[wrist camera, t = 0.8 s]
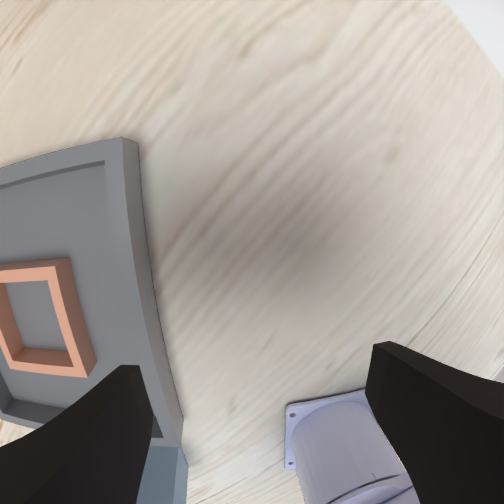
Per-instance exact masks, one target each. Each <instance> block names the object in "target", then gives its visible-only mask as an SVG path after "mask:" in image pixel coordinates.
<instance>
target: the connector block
mask: <svg viewBox="0 0 504 504" xmlns="http://www.w3.org/2000/svg"><path fill="white" fill-rule="evenodd" d="M187 479H188V464H187V462H186V459H185V457H184V454H183V451H182V448H181V447H166V446H149V450H148V454H147V458H146V463H145V467H144V471H143V475H142V479H141V483H140V488H139V492H138V497H137V503H136V504H186V496H187Z"/></svg>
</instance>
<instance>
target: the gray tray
mask: <svg viewBox="0 0 504 504" xmlns="http://www.w3.org/2000/svg"><path fill="white" fill-rule="evenodd" d="M120 365H139V366H140V369H141V373H142V377H143V380H144V384H145V387H146V391H147V394H148V397H149V400H150V404H151V407H152V410H153V413H154V416H153V426H152V435H151V442H150V446H166V447H181V439H182V430H183V421H184V419H183V416H182V412H181V409H180V405H179V401H178V398H177V394H176V390H175V386H174V382H173V378H172V374H171V370H170V366H169V362H168V358H167V353H166V349H165V344H164V340H163V335H162V330H161V325H160V320H159V315H158V310H157V304H156V299H155V293H154V287H153V281H152V275H151V268H150V262H149V255H148V247H147V240H146V232H145V223H144V214H143V204H142V193H141V181H140V167H139V149H138V143H136V142H133V141H131V140H128V139H126V138H123V137H119V138H114V139H109V140H104V141H99V142H94V143H89V144H85V145H80V146H76V147H72V148H68V149H64V150H60V151H56V152H52V153H48V154H45V155H41V156H38V157H34V158H31V159H27V160H24V161H21V162H18V163H15V164H12V165H9V166H6V167H3V168H0V418H1V419H2V420H5V421H8V422H12V423H15V424H18V425H22V426H26V427H29V428H33V429H38V428H39V427H41V426H43V425H44V424H46V423H47V422H49V421H50V420H52V419H53V418H55V417H56V416H57V415H59V414H60V413H61V412H63V411H64V410H65V409H67V408H68V407H69V406H71V405H72V404H73V403H75V402H76V401H77V400H79V399H80V398H81V397H82V396H83V395H85V394H86V393H87V392H88V391H90V390H91V389H92V388H93V387H94V386H96V385H97V384H98V383H99V382H100V381H101V380H103V379H104V378H105V377H106V376H107V375H108V374H110V373H111V372H112V371H113V370H115V369H116V368H117V367H118V366H120Z"/></svg>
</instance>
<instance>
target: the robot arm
mask: <svg viewBox="0 0 504 504" xmlns="http://www.w3.org/2000/svg"><path fill="white" fill-rule="evenodd" d="M292 413H294V414H292ZM153 416H154V413H153V410H152V407H151V404H150V400H149V397H148V394H147V391H146V387H145V384H144V380H143V377H142V373H141V369H140V366H139V365H120V366H118V367H117V368H116V369H115V370H113V371H112V372H111V373H110V374H108V375H107V376H106V377H105V378H104V379H103V380H101V381H100V382H99V383H98V384H97V385H96V386H94V387H93V388H92V389H91V390H90V391H88V392H87V393H86V394H85V395H83V396H82V397H81V398H80V399H79V400H77V401H76V402H75V403H73V404H72V405H71V406H69V407H68V408H67V409H65V410H64V411H63V412H61V413H60V414H59V415H57V416H56V417H55V418H53V419H52V420H50V421H49V422H47V423H46V424H44V425H43V426H41V427H39V428H38V429H36V430H34V431H32V432H31V433H29V434H27V435H25V436H23V437H21V438H19V439H17V440H15V441H13V442H11V443H8V444H6V445H4V446H2V447H0V504H136V503H137V497H138V492H139V488H140V483H141V479H142V475H143V471H144V467H145V463H146V458H147V454H148V450H149V446H150V442H151V435H152V426H153ZM374 417H375V419H376V420H377V422H378V424H379V425H380V427H381V429H382V430H383V432H384V434H385V435H386V437H387V439H388V440H389V442H390V444H391V445H392V447H393V448H394V450H395V452H396V453H397V455H398V457H399V458H400V460H401V461H402V463H403V465H404V467H405V469H406V470H407V472H406V471H405V469H404V468H403V466H402V464H401V463H400V461H399V459H398V458H397V456H396V454H395V453H394V451H393V449H392V448H391V446H390V444H389V443H388V441H387V439H386V438H385V436H384V434H383V433H382V431H381V429H380V428H379V426H378V424H377V423H376V421H375V420H374ZM285 470H286V471H293V470H296V471H297V474H298V478H299V482H300V485H301V489H302V493H303V496H304V500H305V504H504V383H500V382H496V381H492V380H488V379H484V378H481V377H478V376H474V375H472V374H469V373H466V372H463V371H460V370H458V369H455V368H453V367H450V366H448V365H445V364H443V363H441V362H438V361H436V360H434V359H431V358H429V357H427V356H425V355H422V354H420V353H418V352H416V351H413V350H411V349H409V348H407V347H404V346H402V345H399V344H397V343H394V342H391V341H387V342H382V343H377V344H373V350H372V356H371V362H370V367H369V373H368V378H367V383H366V388H365V389H364V390H360V391H355V392H351V393H347V394H342V395H338V396H333V397H328V398H323V399H317V400H312V401H306V402H300V403H294V404H290V405H288V406H287V407H286V427H285Z"/></svg>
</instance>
